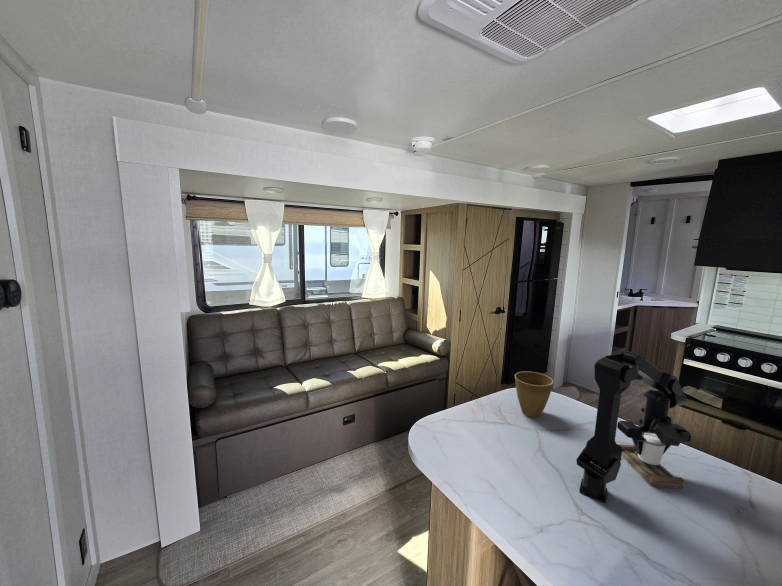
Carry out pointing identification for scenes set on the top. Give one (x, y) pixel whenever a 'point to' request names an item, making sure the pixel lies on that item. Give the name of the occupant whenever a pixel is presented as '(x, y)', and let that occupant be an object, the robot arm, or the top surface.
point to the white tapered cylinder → (652, 450)
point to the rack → (650, 469)
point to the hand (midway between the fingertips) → (649, 454)
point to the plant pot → (533, 392)
